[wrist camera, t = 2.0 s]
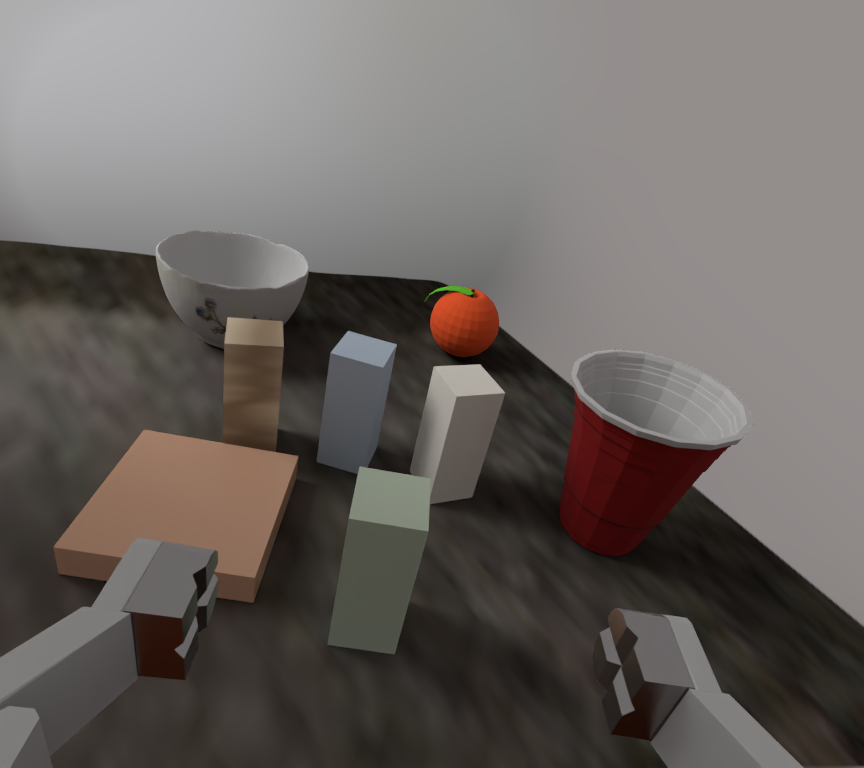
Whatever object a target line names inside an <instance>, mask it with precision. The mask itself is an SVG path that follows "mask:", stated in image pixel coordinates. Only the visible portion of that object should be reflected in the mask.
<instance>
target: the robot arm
mask: <svg viewBox="0 0 864 768" xmlns="http://www.w3.org/2000/svg"><path fill="white" fill-rule="evenodd" d="M217 564H218V551H216V550H211V549H205V548H200V547H194V546H188V545H182V544H176V543H171V542H164V541H158V540H151V539H145V538H139V537H138V538H137V539H136V540H135V541H134V542H133V543H131V545H130V546H129V548H128V550H127V551H126V553H125V554H124V556H123V557H122V559H121V561H120V562H119V564H118V565H117V567H116V569H115V570H114V572H113V573H112V575H111V577H110V578H109V580H108V581H107V583H106V584H105V586H104V588H103V589H102V591H101V592H100V594H99V596H98V597H97V599H96V600H95V602H94V604H93V605H92V607H81V608H80V609H78V610H77V611H75V612H73V613H72V614H70V615H68V616H67V617H65V618H64V619H62V620H60V621H59V622H57V623H55V624H54V625H52V626H51V627H49V628H47V629H46V630H44V631H42V632H41V633H39V634H38V635H36V636H34V637H33V638H31V639H29V640H28V641H26V642H25V643H23V644H21V645H20V646H18V647H16V648H15V649H13V650H11V651H10V652H8V653H7V654H5V655H3V656H2V657H0V768H53V766H52V762H51V758H50V756H51V755H52V754H53V753H55V752H56V751H57V750H58V749H59V748H60V747H61V746H63V745H64V744H65V743H66V742H67V741H68V740H69V739H70V738H72V737H73V736H74V735H75V734H76V733H77V732H78V731H79V730H81V729H82V728H83V727H84V726H85V725H86V724H87V723H88V722H90V721H91V720H92V719H93V718H94V717H95V716H96V715H98V714H99V713H100V712H101V711H102V710H103V709H104V708H105V707H107V706H108V705H109V704H110V703H111V702H112V701H113V700H114V699H116V698H117V697H118V696H119V695H120V694H121V693H122V692H123V691H125V690H126V689H127V688H128V687H129V686H130V685H131V684H133V683H134V682H135V681H136V680H137V679H138V676H145V677H155V678H165V679H176V680H185V679H186V677H187V674H188V672H189V669H190V667H191V665H192V662H193V660H194V657H195V655H196V652H197V650H198V633H199V632H201V631H202V630H203V629H205V628H206V627H207V625H208V623H209V620H210V618H211V615H212V612H213V608H214V605H215V601H216V597H217V590H218V578H217V576H216V575H215V574H214V571H215V569H216V567H217ZM607 620H608V623H609V628H607V629H605V630H604V631H602V632H600V633H599V635H598V638H597V640H596V642H595V646H594V653H593V661H594V670H595V674H596V679H597V680H598V682H599V683H600V684H601V685H602V686H603V688H604V689H605V690H606V694H605V696H604V698H603V700H602V703H603V707H604V711H605V715H606V719H607V723H608V727H609V731H610V734H611V735H617V736H624V737H630V738H636V739H643V740H649V741H651V745H652V746H653V747H654V749H655V750H656V752H657V753H658V754H659V756H660V757H661V759H662V760H663V761H664V763H665V764H666V766H667V767H668V768H803V767H802V766H801V765H800V764H799V763H798V762H797V761H796V760H795V759H794V758H793V757H792V756H791V755H790V754H789V753H788V752H787V751H786V750H785V749H784V748H783V747H782V746H781V745H780V744H779V743H778V742H777V741H776V740H775V739H774V738H773V737H772V736H771V735H770V734H769V733H768V732H767V731H766V730H765V729H764V728H763V727H762V726H761V725H760V724H759V723H758V722H757V721H756V720H755V719H754V718H753V717H752V716H751V715H750V714H749V713H748V712H747V711H746V710H745V709H744V708H743V707H742V706H741V705H740V704H739V703H738V702H736V701H735V700H734V699H733V698H732V697H731V696H730V695H729V694H725V693H722V692H721V689H720V687H719V685H718V682H717V680H716V678H715V676H714V673H713V671H712V669H711V667H710V664H709V662H708V660H707V657H706V655H705V653H704V651H703V648H702V646H701V644H700V641H699V639H698V637H697V635H696V632H695V630H694V628H693V625H692V623H691V622H690V621H689V620H688V619H687V618H683V617H677V616H670V615H661V614H659V613H651V612H644V611H636V610H628V609H621V608H616V609H614V610H613V611H611V613H610V615H609V617H608V618H607Z"/></svg>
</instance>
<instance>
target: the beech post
mask: <svg viewBox="0 0 864 768" xmlns="http://www.w3.org/2000/svg"><path fill="white" fill-rule="evenodd" d="M283 352H284V338H283V321H273V320H259V319H245V318H231V317H228V318H227V326H226V334H225V342H224V397H223V443H225V444H231V445H237V446H243V447H249V448H254V449H260V450H266V451H272V452H276V445H277V432H278V418H279V405H280V392H281V379H282V366H283Z"/></svg>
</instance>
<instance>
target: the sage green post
mask: <svg viewBox="0 0 864 768" xmlns="http://www.w3.org/2000/svg"><path fill="white" fill-rule="evenodd" d="M430 482H431V478H425V477H419V476H413V475H407V474H401V473H395V472H389V471H384V470H378V469H372V468H366V467H359V471H358V476H357V481H356V486H355V491H354V496H353V500H352V505H351V510H350V515H349V520H348V526H347V532H346V538H345V543H344V549H343V555H342V561H341V567H340V573H339V579H338V584H337V590H336V596H335V602H334V608H333V614H332V620H331V625H330V631H329V637H328V643H327V645H332V646H339V647H346V648H353V649H360V650H367V651H374V652H381V653H388V654H394V655H395V652H396V648H397V644H398V641H399V637H400V634H401V630H402V626H403V623H404V619H405V615H406V612H407V608H408V604H409V601H410V597H411V594H412V590H413V586H414V583H415V579H416V575H417V572H418V568H419V564H420V561H421V557H422V553H423V550H424V546H425V543H426V539H427V535H428V532H429V507H430Z"/></svg>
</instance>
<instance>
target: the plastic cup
mask: <svg viewBox="0 0 864 768" xmlns="http://www.w3.org/2000/svg"><path fill="white" fill-rule="evenodd" d="M571 382H572V384H573V386H574V388H575V390H574V391H575V403H576V404H575V412H574V415H575V420H574V426H573V431H572V437H571V442H570V448H569V453H568V459H567V464H566V470H565V475H564V479H565V483H564V487H563V492H562V496H561V501H560V506H559V509H560V513H559V517H560V520H561V523H562V527H563V528H564V529H565V530H566V532H567V533H568V534H569V535H570V537H571V538H572V539H573V540H575V541H576V542H577V543H579V544H580V545H582V546H583V547H584V548H586V549H588V550H591V551H593V552H596V553H598V554H601V555H607V556H615V557H617V556H621V555H625V554H629V553H630V552H631V551H632V550H633V549H635V548H636V547H637V546H638V545H639V544H640V543H641V542H642V540H643V539H644V538H645V537H646V536H647V535H648V533H649V532H650V531H651V530H652V529H653V528H654V527H655V526H657V525H658V524H659V523H660V522H661V521H662V520H663V518H664V517H665V516H666V515H667V514H668V513H669V512H670V510H671V509H672V508H673V507H674V506H675V504H676V503H677V502H678V501H679V500H680V499H681V497H682V496H683V495H684V494H685V493H686V492H687V490H688V489H689V488H690V487H691V486H692V485H693V483H694V482H695V481H696V480H697V479H698V478H699V476H700V475H701V474H702V473H703V472H705V471H706V470H707V469H708V468H709V467H710V466H711V464H712V463H713V462H714V461H715V460H717V459H718V458H719V456H720V455H721V454H722V453H723V452H724V451H725V450H726V449H727V448H728V447H730V446H731V445H735V444H737V443H738V442H739V441H740V440H741V439H742V438H743V437H744V436H745V435H746V434H747V432H748V431H749V430H750V429H751V428H752V426H753V421H752V417H751V412H750V408H749V407H748V406H747V405H746V403H745V402H744V401H743V400H742V399H741V398H740V397H739V396H738V395H737V394H736V393H735V392H734V391H733V390H732V389H731V388H729V387H728V386H726V385H725V384H723V383H722V382H720V381H718V380H717V379H715V378H714V377H712V376H711V375H709V374H707V373H705V372H703V371H701V370H698V369H696V368H693V367H691V366H689V365H686V364H684V363H682V362H679V361H677V360H673V359H669V358H665V357H661V356H658V355H653V354H650V353H646V352H638V351H627V350H616V349H614V350H606V351H598V352H591V353H589V354H587V355H585V356H584V357H582V358H580V359H578V360H576V361H575V363H574V366H573V369H572V372H571Z"/></svg>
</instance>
